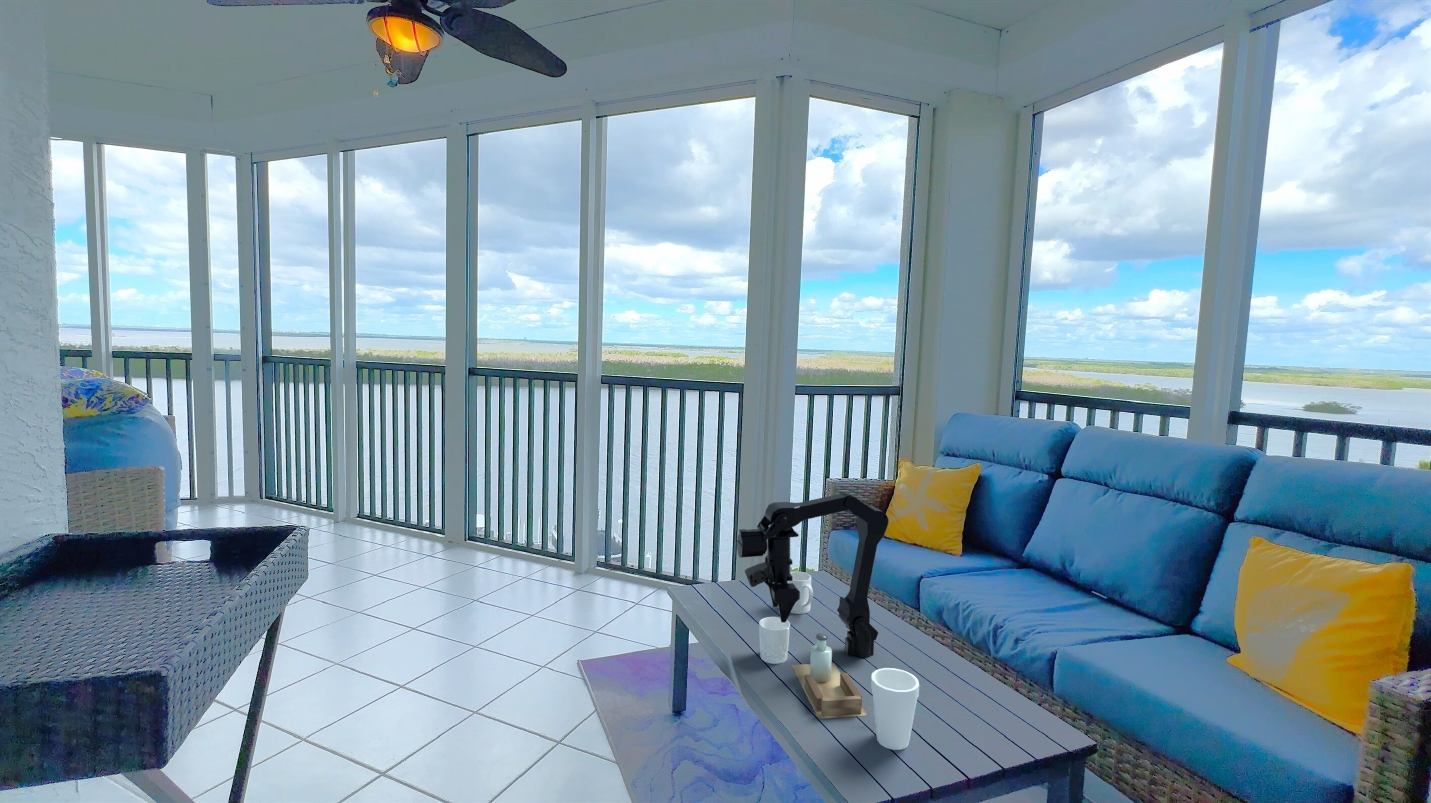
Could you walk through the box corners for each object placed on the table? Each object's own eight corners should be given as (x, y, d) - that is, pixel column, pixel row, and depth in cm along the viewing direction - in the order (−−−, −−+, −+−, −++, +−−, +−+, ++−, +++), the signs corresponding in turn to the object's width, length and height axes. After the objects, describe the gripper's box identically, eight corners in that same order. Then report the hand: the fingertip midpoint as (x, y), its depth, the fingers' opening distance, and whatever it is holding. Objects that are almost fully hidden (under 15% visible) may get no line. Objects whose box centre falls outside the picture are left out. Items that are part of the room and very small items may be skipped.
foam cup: (881, 721, 136) (883, 663, 135) (923, 738, 130) (926, 678, 129) (861, 741, 129) (863, 680, 128) (904, 761, 123) (907, 697, 122)
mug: (780, 605, 197) (780, 573, 196) (802, 602, 200) (803, 570, 199) (798, 621, 185) (799, 586, 184) (822, 617, 188) (823, 583, 187)
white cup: (753, 663, 160) (754, 625, 159) (765, 650, 167) (766, 614, 166) (782, 671, 157) (783, 632, 156) (793, 658, 163) (794, 620, 163)
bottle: (827, 671, 155) (828, 630, 154) (833, 682, 150) (835, 639, 149) (807, 672, 154) (808, 631, 153) (813, 683, 149) (814, 640, 148)
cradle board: (833, 666, 159) (834, 649, 159) (867, 719, 137) (868, 699, 136) (791, 668, 158) (791, 651, 157) (818, 722, 135) (818, 702, 135)
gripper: (741, 544, 166) (741, 601, 168) (753, 568, 148) (754, 633, 149) (782, 542, 168) (782, 598, 169) (800, 566, 149) (800, 629, 150)
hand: (779, 614), depth 159 cm, fingers open, 9 cm apart
